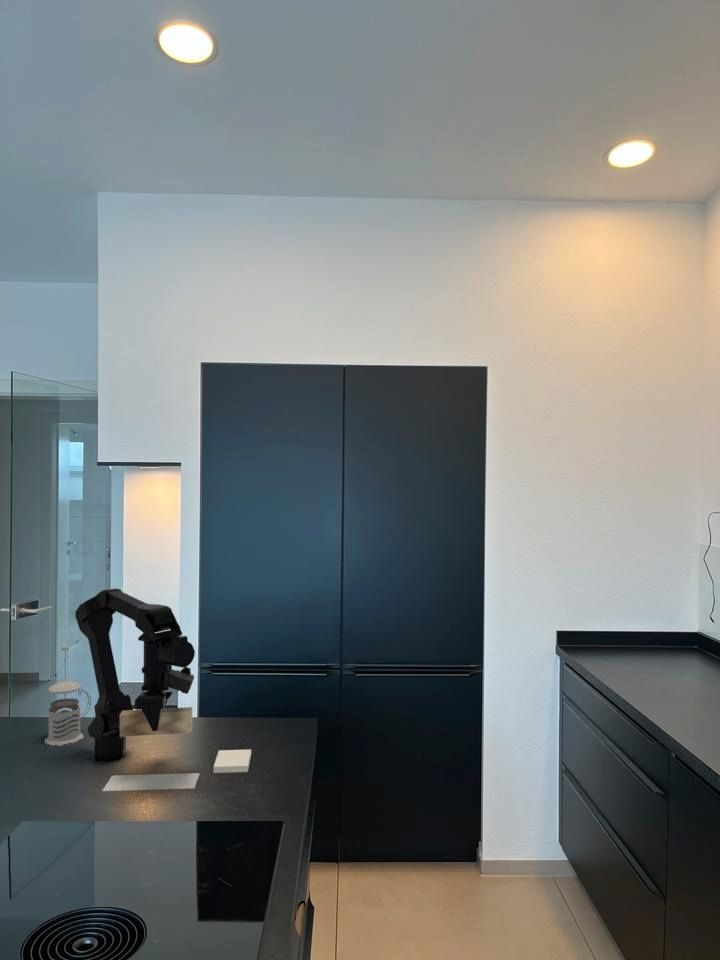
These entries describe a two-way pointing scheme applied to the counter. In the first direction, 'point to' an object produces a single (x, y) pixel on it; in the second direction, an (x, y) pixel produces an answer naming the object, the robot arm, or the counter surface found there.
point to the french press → (65, 713)
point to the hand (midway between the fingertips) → (156, 728)
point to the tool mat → (151, 782)
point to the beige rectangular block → (168, 722)
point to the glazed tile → (232, 761)
